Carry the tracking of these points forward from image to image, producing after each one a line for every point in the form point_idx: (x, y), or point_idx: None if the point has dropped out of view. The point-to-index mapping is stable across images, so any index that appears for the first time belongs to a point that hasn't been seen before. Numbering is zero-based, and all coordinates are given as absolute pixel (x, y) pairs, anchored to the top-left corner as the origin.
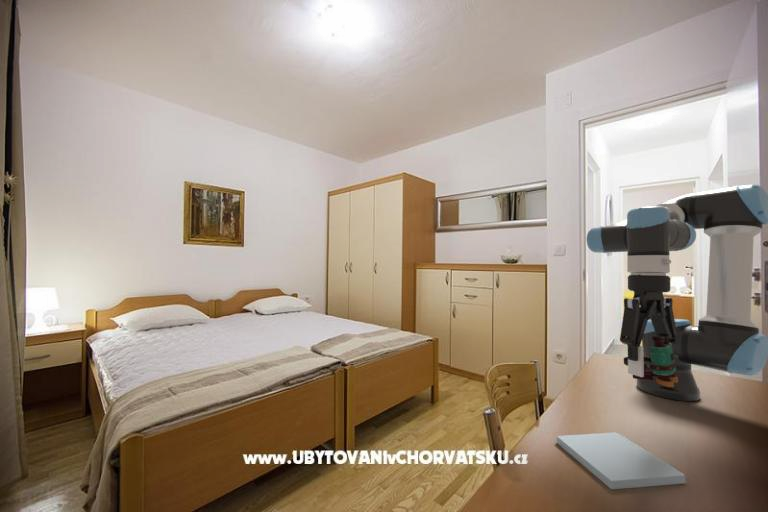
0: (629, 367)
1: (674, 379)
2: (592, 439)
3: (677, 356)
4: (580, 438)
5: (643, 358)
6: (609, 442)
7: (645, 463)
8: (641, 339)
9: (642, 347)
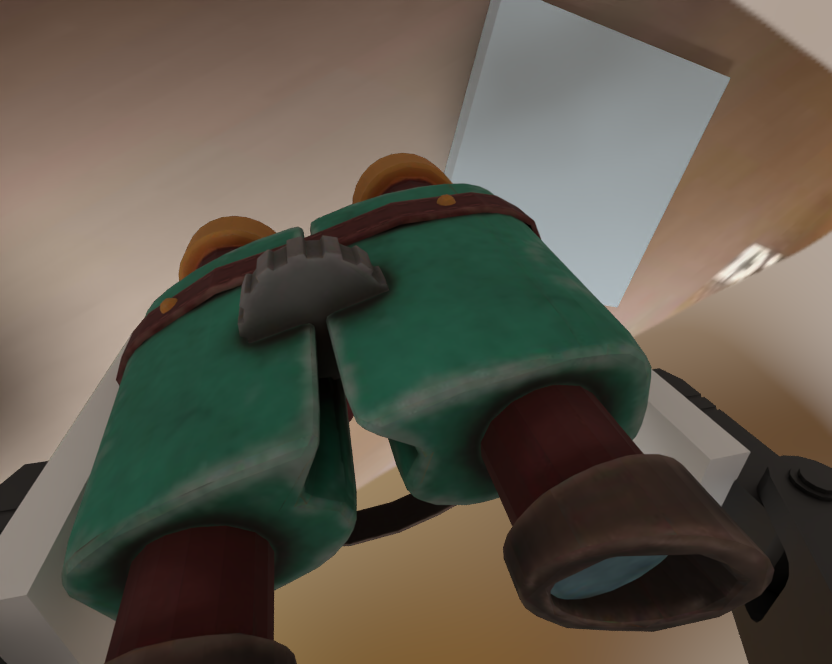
0: None
1: (258, 228)
2: None
3: (308, 250)
4: None
5: None
6: None
7: (546, 99)
8: (827, 551)
9: (715, 452)
